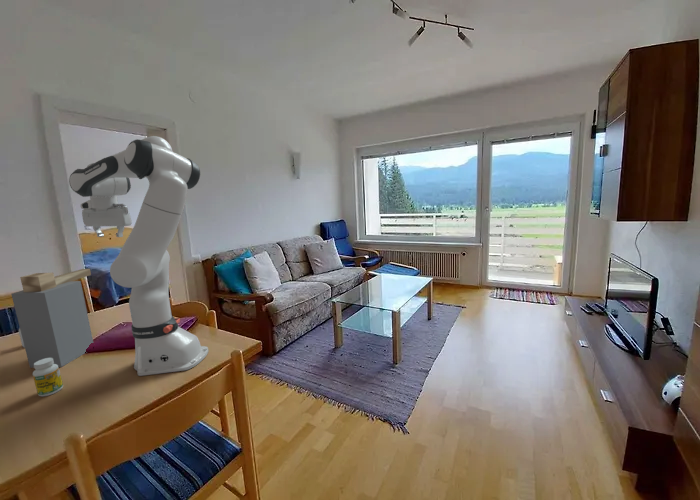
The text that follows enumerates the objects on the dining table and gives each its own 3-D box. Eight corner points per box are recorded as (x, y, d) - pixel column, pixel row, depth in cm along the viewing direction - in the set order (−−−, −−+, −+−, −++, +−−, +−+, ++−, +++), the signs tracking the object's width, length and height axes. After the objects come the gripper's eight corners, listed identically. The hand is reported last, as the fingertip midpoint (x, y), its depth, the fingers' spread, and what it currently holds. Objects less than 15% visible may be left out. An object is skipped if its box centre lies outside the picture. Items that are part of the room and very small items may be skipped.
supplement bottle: (65, 383, 93) (58, 354, 91) (61, 392, 89) (54, 362, 87) (40, 390, 90) (33, 360, 89) (35, 399, 86) (27, 368, 84)
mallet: (94, 274, 120) (92, 262, 119) (41, 291, 99) (38, 276, 99) (79, 275, 120) (77, 262, 119) (23, 291, 100) (20, 277, 99)
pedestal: (94, 347, 115) (80, 281, 111) (61, 366, 103) (44, 292, 98) (66, 348, 116) (51, 282, 111) (29, 367, 103) (11, 293, 98)
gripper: (133, 203, 129) (137, 236, 131) (91, 204, 132) (97, 235, 135) (119, 203, 122) (124, 238, 125) (76, 204, 126) (82, 237, 128)
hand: (110, 237), depth 130 cm, fingers open, 8 cm apart
